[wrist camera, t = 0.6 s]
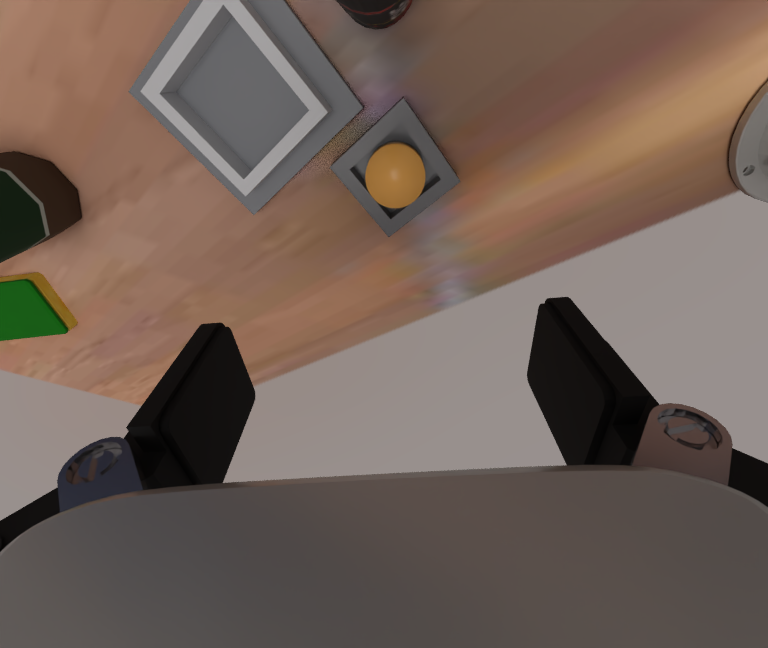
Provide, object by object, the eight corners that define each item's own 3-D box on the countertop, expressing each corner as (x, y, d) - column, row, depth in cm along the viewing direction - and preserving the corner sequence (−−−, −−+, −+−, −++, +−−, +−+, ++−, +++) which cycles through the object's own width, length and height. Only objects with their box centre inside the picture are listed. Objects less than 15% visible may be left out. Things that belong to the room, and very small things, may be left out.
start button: (400, 127, 30) (400, 131, 29) (435, 177, 33) (437, 182, 31) (355, 168, 32) (353, 173, 31) (391, 212, 34) (390, 219, 33)
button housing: (403, 96, 30) (403, 98, 29) (457, 175, 34) (460, 181, 32) (333, 162, 34) (329, 167, 32) (389, 228, 37) (388, 237, 35)
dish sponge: (-63, 284, 43) (-85, 294, 41) (43, 270, 41) (26, 280, 39) (-17, 333, 47) (-35, 345, 45) (82, 322, 45) (67, 334, 43)
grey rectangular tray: (239, -62, 26) (219, -78, 23) (363, 106, 31) (360, 110, 28) (135, 91, 31) (108, 93, 28) (257, 211, 36) (244, 223, 33)
